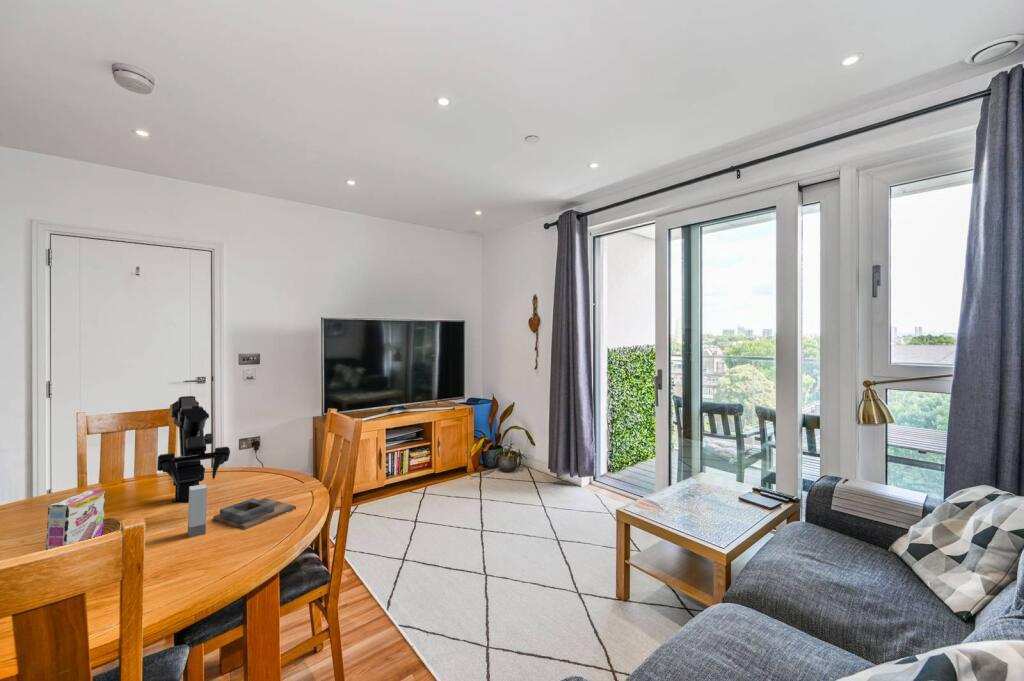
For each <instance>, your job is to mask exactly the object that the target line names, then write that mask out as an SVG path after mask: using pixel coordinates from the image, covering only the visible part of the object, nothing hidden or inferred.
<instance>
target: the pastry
mask: <svg viewBox="0 0 1024 681" xmlns="http://www.w3.org/2000/svg"><path fill="white" fill-rule="evenodd" d="M120 523H121V522H120V521H119V520H118V519H117V518H114V517H107V518H104V525H103V535H105V534H108V533H111V532H114V531H116V530H118V529H119V530H120V528H121V527H120ZM119 527H120V528H119ZM119 530H118V531H119Z"/></svg>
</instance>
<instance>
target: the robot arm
mask: <svg viewBox="0 0 1024 681" xmlns="http://www.w3.org/2000/svg"><path fill="white" fill-rule="evenodd" d="M170 409H171V410H170V418H172V420H173V424H174V425H175V427H177V428H178V432H179V433H178V435H179V455H178V456H175V452H171V453H161V454H159V455H158V456H157V461H156V462H157V466H156V467H157V468H156V471H158V472H161V471H162V473H167V475H169V477H170V478H171V479H172V480H171V481H172V482H171V483H172V486H173V487H174V486H175V487H174V488H175V492H174V494H175V496H174V499H171V502H174V503H189V487H190V486H196V485H200V482H203V481H204V480H205V472H206V467H204V465H203V464H202V463H201V462H202V461H203V460H204V461H206V460H211V459H213V462H212V463H213V464H212V474H211V476H212V480H215V479H216V475H217V472H218V469H219V467H220V466H221V465H223V464H225V462H229V458H230V454H231V449H230V448H229V447H228V446H221V447H215V449H214V452H206V451H207V445H212V444H213V442H214V439H213V438H214V436H213V433H212V432H211V433H206V434H204V429H205V426H206V422H207V420H208V419H209V418H210V414H209V413H208V412H207V411H206V409H204V407H203V406H200V402H199V401H197V400H196V396H193V395H187V396H185V395H184V396H179V397H178V399H177V401H175V402H174V403H172V404H171V408H170Z"/></svg>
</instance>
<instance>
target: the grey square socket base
mask: <svg viewBox="0 0 1024 681" xmlns="http://www.w3.org/2000/svg"><path fill="white" fill-rule="evenodd" d="M295 508H296V509H297V505H293V504H290V503H285V502H281V501H279V500H274V499H271V498H267V497H264V498H261V499H257V498H253V497H252V498H249V499H246V500H243V501H240V502H238V503H234V504H232V505H230V506H227V507H223V508H220V509H219V514H215V515H213V516H212V517H213V518H214V519H216V520H215V521H217V520H219V521H218V522H220V521H222V522H221V523H224V522H225V523H224V524H227V523H228V525H231V526H234V527H236V528H239V529H243V530H249V529H250V528H253V527H255V526H257V525H260V524H263V523H265V522H267V520H268V521H270V520H273V519H275V518H278V517H280V516H282V515H281V514H283V515H285V514H287V513H286V512H288V513H290V512H292V511H294V510H293V509H295ZM296 509H295V510H296ZM291 510H292V511H291ZM289 511H290V512H289ZM284 513H285V514H284ZM279 515H280V516H279ZM277 516H278V517H277ZM274 517H275V518H274ZM213 518H212V519H213ZM272 518H273V519H272ZM214 519H213V520H214Z"/></svg>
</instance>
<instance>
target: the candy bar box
mask: <svg viewBox="0 0 1024 681" xmlns="http://www.w3.org/2000/svg"><path fill="white" fill-rule="evenodd" d="M105 498H106V491H105V490H86V491H84V492H81V493H78V494H76V495H73V496H70V497H68V498H65V499H62V500H60V501H57V502H55V503H52V504H49V505H48V506H47V523H46V524H47V525H46V547H45V548H46V549H45V551H46V550H48V549H52V548H55V547H59V546H64V545H68V544H72V543H76V542H80V541H84V540H88V539H92V538H95V537H98V536H102V535H103V525H104V519H105V518H104V517H105V501H106V499H105Z"/></svg>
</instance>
